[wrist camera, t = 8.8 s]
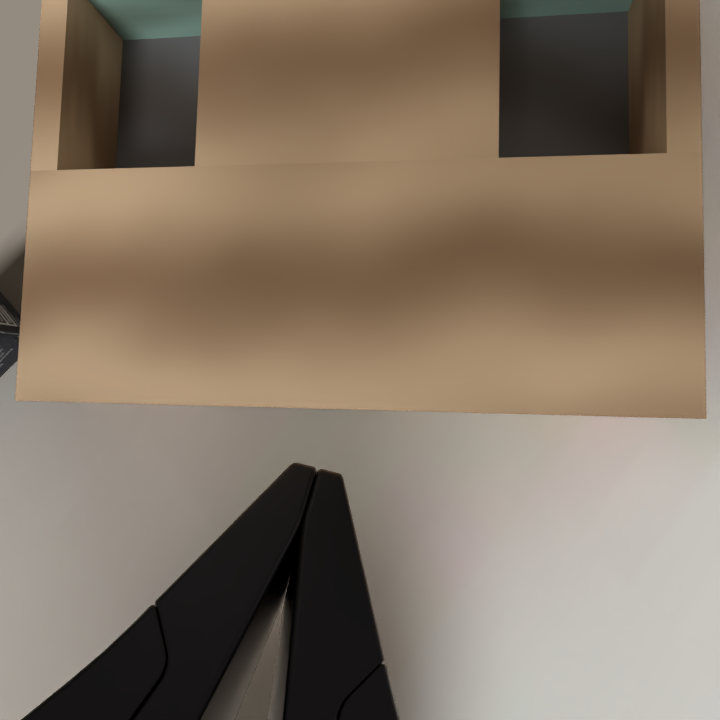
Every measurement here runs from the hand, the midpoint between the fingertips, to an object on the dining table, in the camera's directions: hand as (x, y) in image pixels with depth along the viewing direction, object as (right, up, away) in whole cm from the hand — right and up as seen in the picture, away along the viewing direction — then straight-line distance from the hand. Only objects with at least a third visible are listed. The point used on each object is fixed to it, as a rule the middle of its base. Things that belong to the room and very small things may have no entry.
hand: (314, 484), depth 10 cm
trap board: (+1, +11, +14) cm, 18 cm away
